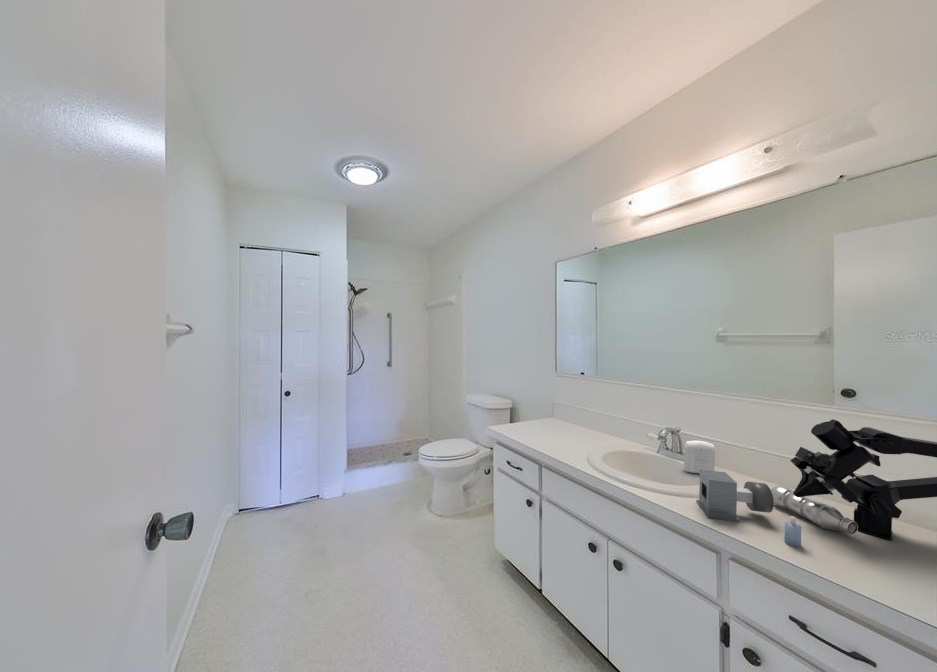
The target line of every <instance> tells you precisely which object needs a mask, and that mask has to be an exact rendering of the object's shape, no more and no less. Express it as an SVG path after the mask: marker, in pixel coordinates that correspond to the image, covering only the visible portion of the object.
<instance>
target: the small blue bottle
mask: <svg viewBox="0 0 937 672" xmlns="http://www.w3.org/2000/svg"><path fill="white" fill-rule="evenodd" d="M796 519H797V517H795V516H794V515H791V516H790V521H789V520H788V521H784V534H783V535H784V540H783V541H784V543H785V544H786V545H788V546H790V547H792V548H801V547H802V526H801V524H798V523H797V521H796Z"/></svg>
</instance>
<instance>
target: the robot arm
mask: <svg viewBox="0 0 937 672" xmlns="http://www.w3.org/2000/svg"><path fill="white" fill-rule="evenodd" d="M810 432H811V434H812V435H813V436H814V437H815V438H816V439H818V440H819V441H820V442H821V443H822V444H823V445H824V446H825V447H826V448H827V449H829V450H833V451H834V452H833V453H831V454H828V453H822V452H820V451H817V452H816V453H815V452H813V451H811V450H809V449H808V448H804V447H803V446H800V447H799V449H798V450H797V451H796V453H795V455H794V456H795V457H793V458H792V459H790V461H789V462H790V463H792V464H793V465H794V466H795V467H796V468H797V469H798V470H799V472H801V478H800V481H799V483H798V484H797V486H796V488H795V489H794V490H793V491H794V492H793V494H794V495H795V496H796V497H805V498H806V497H811V496H822V495H824V496H825V495H831V496H833V495H834V493H833V491H837V492H838V493H839V494H840V495H841V498H842V499H843V500H845V501H847V502H848V503H850V504H852V503H855V504H857V506H856V507H857V508H856V507H855V508H854V510H853V521H855V522H856V523H857V524H858V530H857V532H861V533H864V534H868V535H872V536H874V537H878V538H881V539H884V540H887V541H893V532H894V530H893V519H899V518H900V516H901V514H902V512H903V511H902V510H901V509H900V508H899V507H898V506H897V504H898V503H899V502H900V501H903V500H906V501H907V500H915V499H916V500H917V499H929V498H937V476H931V477H930V476H929V477H921V478H908V479H900V480H899V479H898V480H886V479H883V478H880V477H879V476H876V475H874V474H866V475H861V476H860V475H857V474H856V471H858V470H860V469H861V468H862V467H864V466H865V465H866V464H868V463H870V464H871V465H873V466H877V467H881V460H880V458H881V457H880V455H877V454H875V453H872V452H870V451H869V450H872V451H874V452H876V453H879V454H882V455H904V454H911V455H918V456H925V457H930V458H931V457H932V458H937V441H934V440H933V441H931V440H924V439H919V438H913V437H912V438H911V437H907V436H900V435H897V434H894V433H890V432H886V431H884V430H879V429H877V428H874V427H870V426H869V427H867V426H863V427H861V428H860V429H857V430H848V429H847V428H846V427H844V426H843V424H842V423H841V422H840V421H839V420H836V419H834V418H833V419H830V420H828V421H824V422H820V423H817V424H815V425H814V426H813V427H812V428H811V430H810ZM856 443H858V445H857V444H856ZM868 449H869V450H868ZM847 477H851V478H849V479H847V481H846V482H845V481H844V479H846V478H847Z"/></svg>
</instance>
